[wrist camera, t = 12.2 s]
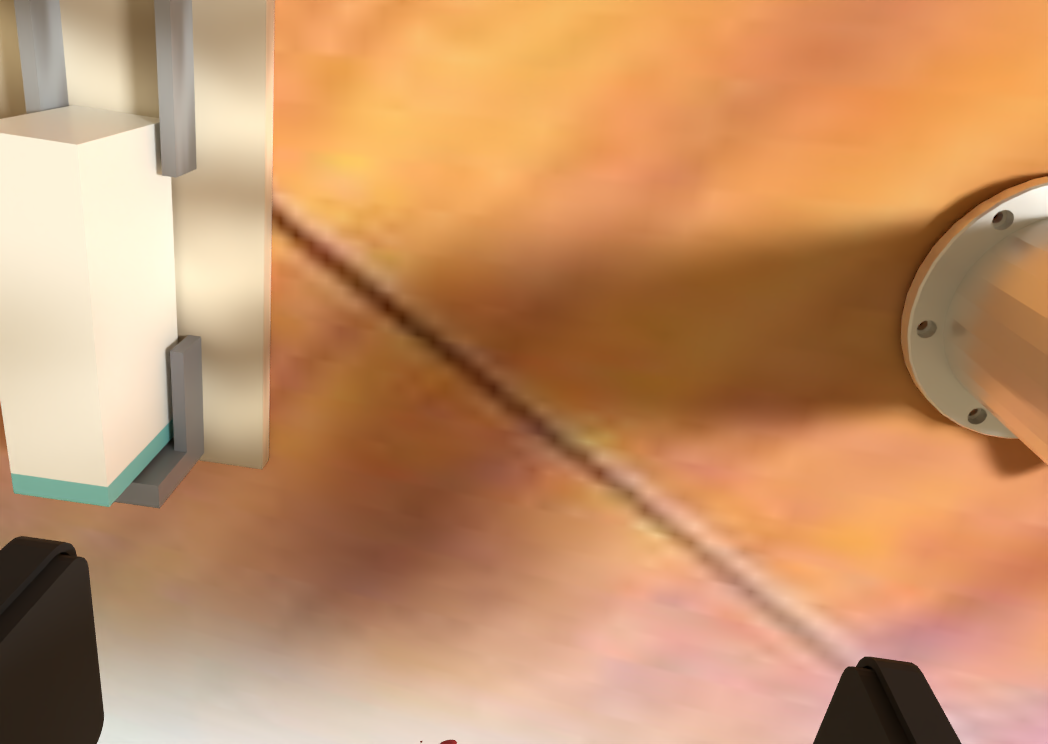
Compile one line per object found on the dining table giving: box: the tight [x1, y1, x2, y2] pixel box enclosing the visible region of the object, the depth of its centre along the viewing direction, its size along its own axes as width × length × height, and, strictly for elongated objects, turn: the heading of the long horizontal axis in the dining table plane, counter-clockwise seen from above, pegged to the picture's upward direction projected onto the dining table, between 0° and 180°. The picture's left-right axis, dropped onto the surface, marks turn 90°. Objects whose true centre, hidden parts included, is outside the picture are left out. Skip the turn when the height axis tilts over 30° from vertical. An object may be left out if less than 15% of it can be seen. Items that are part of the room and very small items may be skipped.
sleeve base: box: [0, 0, 275, 469], centre depth 34 cm, size 30×12×3 cm, turn 172°
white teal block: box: [0, 105, 178, 507], centre depth 33 cm, size 15×4×7 cm, turn 172°
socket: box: [114, 335, 204, 508], centre depth 37 cm, size 6×6×5 cm
